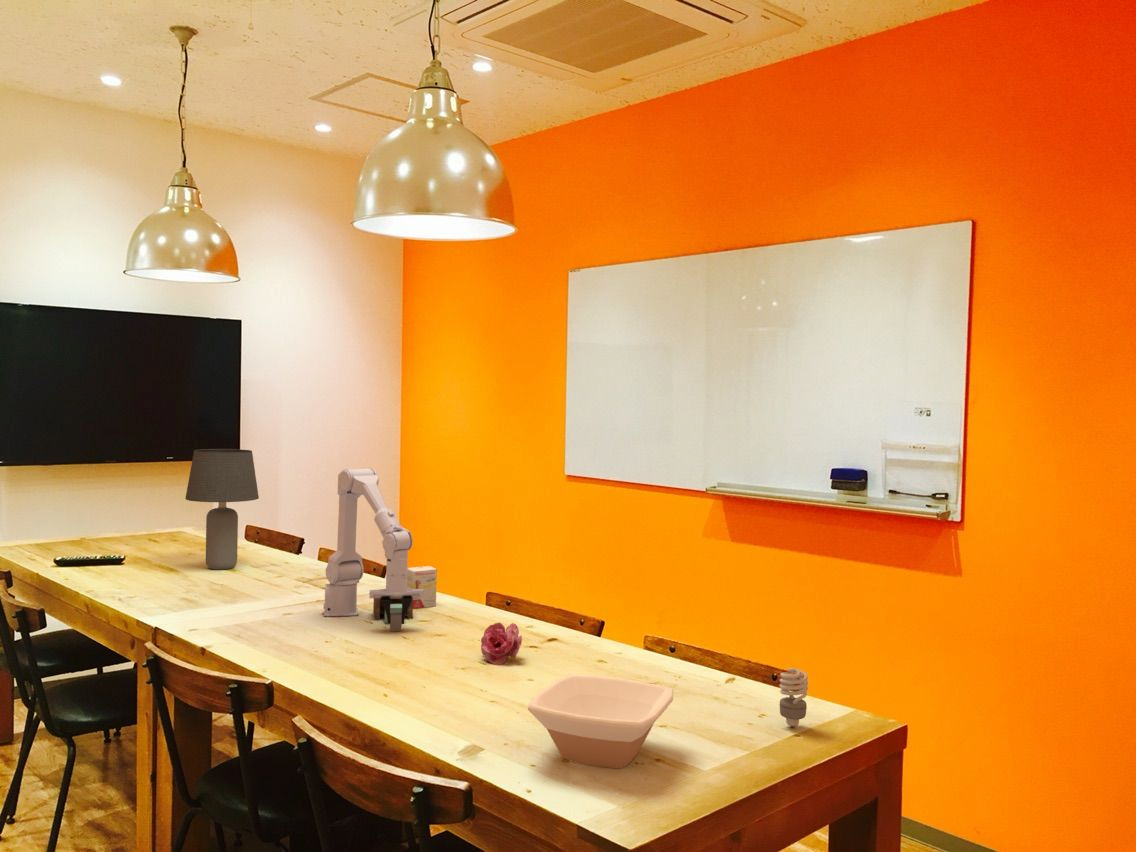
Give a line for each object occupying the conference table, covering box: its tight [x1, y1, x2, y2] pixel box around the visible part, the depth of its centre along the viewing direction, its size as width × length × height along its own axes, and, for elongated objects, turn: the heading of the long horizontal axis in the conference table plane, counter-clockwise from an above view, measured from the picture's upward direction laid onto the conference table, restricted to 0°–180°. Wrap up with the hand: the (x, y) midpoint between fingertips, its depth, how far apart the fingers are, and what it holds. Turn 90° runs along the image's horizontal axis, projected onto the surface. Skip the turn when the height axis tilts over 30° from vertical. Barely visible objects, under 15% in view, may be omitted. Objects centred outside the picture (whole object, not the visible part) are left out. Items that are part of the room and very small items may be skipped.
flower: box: [480, 622, 523, 665], centre depth 231 cm, size 11×10×10 cm
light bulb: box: [778, 667, 809, 728], centre depth 188 cm, size 6×6×12 cm
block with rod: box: [384, 604, 403, 632], centre depth 262 cm, size 5×14×4 cm, turn 13°
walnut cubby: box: [372, 597, 414, 621], centre depth 273 cm, size 11×8×7 cm
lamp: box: [185, 448, 260, 571], centre depth 339 cm, size 25×25×43 cm
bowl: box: [527, 673, 674, 769], centre depth 172 cm, size 24×25×11 cm
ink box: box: [407, 565, 438, 610], centre depth 287 cm, size 9×5×12 cm, turn 126°
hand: (395, 623), depth 257 cm, fingers closed on block with rod, 3 cm apart
